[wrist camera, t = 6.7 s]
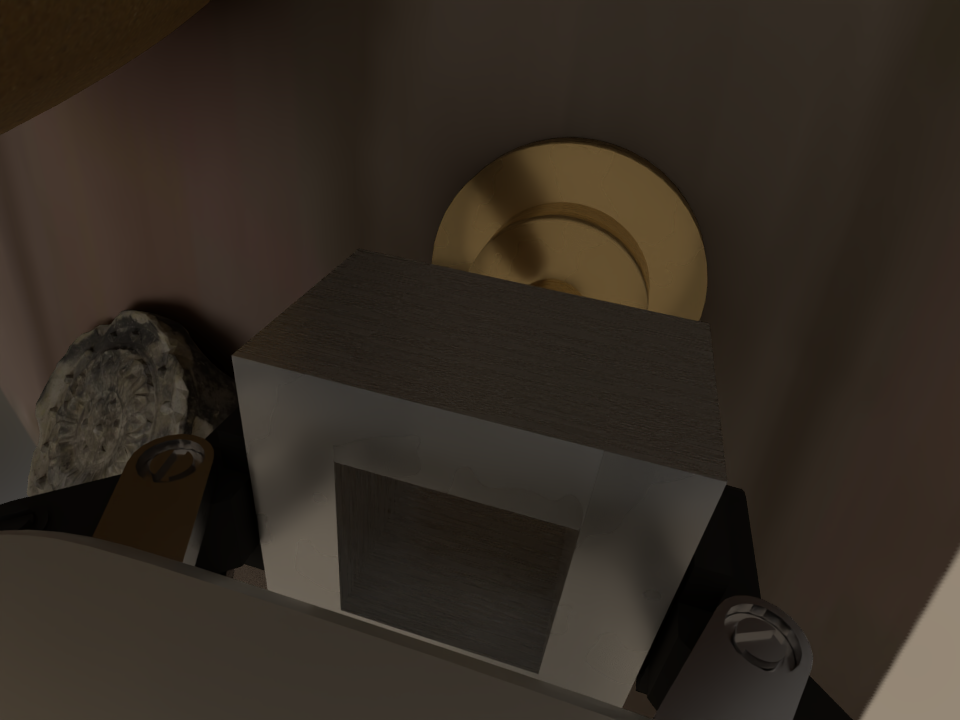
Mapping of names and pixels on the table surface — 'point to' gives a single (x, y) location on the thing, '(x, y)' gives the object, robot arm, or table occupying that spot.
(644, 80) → the table surface
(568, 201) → the hub
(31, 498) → the robot arm
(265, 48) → the table surface
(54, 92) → the plant pot
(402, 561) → the square sleeve
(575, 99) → the table surface
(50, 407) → the fossil
